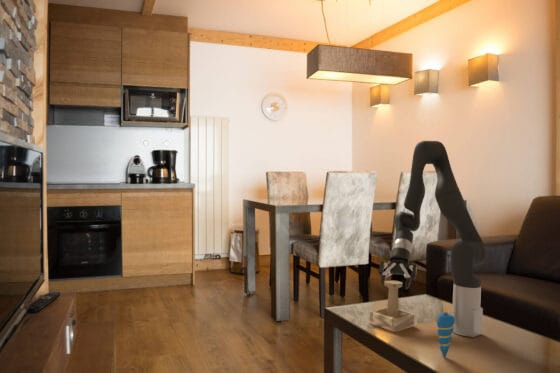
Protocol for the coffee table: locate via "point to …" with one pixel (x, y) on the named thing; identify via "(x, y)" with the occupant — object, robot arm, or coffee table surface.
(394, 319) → the socket block
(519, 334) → the coffee table surface
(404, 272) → the robot arm
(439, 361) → the coffee table surface
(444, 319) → the ornament
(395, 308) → the handle
